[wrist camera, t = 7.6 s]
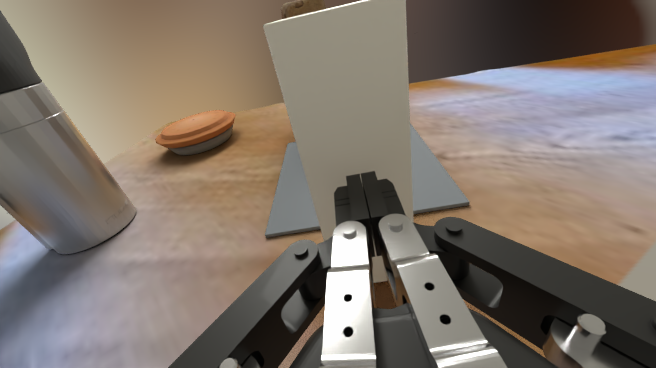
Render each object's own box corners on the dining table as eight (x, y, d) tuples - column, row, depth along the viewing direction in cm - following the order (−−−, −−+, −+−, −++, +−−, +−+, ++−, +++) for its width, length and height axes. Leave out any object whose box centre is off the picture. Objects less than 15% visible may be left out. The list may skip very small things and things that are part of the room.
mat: (266, 237, 28) (264, 234, 28) (288, 145, 46) (287, 143, 46) (469, 205, 26) (469, 201, 26) (408, 122, 44) (407, 120, 44)
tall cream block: (337, 287, 21) (262, 25, 12) (334, 234, 26) (280, 19, 17) (415, 276, 21) (405, -9, 11) (397, 224, 26) (379, -4, 16)
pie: (254, 124, 60) (246, 102, 57) (210, 160, 48) (198, 134, 45) (199, 129, 65) (190, 108, 62) (148, 162, 53) (133, 139, 50)
